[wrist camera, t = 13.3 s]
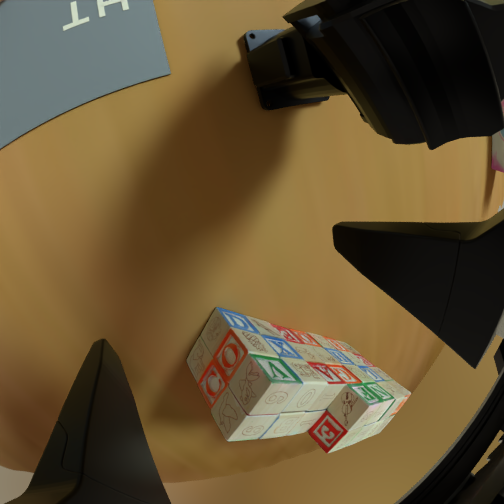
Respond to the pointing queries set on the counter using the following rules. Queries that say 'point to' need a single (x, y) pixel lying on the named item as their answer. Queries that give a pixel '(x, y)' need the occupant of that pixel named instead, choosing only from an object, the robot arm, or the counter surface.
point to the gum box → (498, 149)
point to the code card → (71, 56)
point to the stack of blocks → (289, 383)
